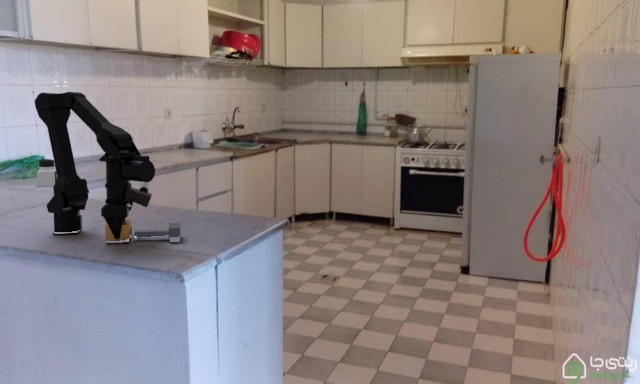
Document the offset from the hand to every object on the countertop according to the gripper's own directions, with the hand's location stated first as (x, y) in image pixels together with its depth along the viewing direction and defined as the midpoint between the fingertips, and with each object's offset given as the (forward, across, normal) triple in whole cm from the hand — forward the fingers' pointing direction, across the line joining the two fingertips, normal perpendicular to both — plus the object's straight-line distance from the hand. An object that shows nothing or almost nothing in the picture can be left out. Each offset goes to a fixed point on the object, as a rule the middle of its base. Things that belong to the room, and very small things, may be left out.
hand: (118, 236), depth 138 cm
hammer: (+1, 0, -10) cm, 10 cm away
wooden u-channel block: (+1, 0, 0) cm, 1 cm away
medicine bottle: (+2, +111, +42) cm, 119 cm away
